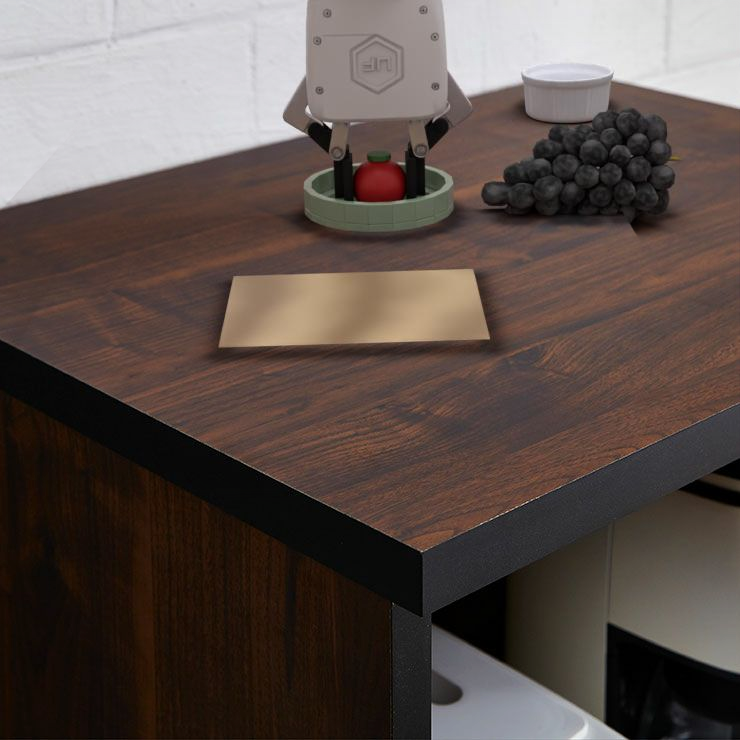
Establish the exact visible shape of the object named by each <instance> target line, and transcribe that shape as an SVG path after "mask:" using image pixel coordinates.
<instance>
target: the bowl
mask: <svg viewBox="0 0 740 740" xmlns="http://www.w3.org/2000/svg"><path fill="white" fill-rule="evenodd" d="M396 162H397V163H398V164H399V165H400V166H401V167H402V168H403V170H404V172H405V162H402V161H401V162H400V161H396ZM361 163H362V162H356V163H353V175H354V173H355V171H356V169H357V168H358V166H359V165H360V164H361ZM454 184H455V183H454V180H453V176H452V175H450V174H448V173H447V172H446V171H444V170H442V169H439V168H436V167H433V166H430V165H426V164H425V195H424V196H417V198H415V199H409V200H406V195H405V197H404V199H403V200H401V201H393V202H370V203H368V202H358V201H357V200H356V198H355V197H354V202H353V201H344V198H337V199H335V187H334V166H333V167H329V168H325V169H322V170H320V171H318V172H315V173H313V174H311V175H310V176H309V177H308V178H306V179H305V180H304V182H303V203H304V204H303V206H304V215H305V216H306V217H307V218H308V219H309V220H310V221H311V222H313V223H316V224H317V225H318V224H319V225H321V226H323V227H326V228H331V229H337V230H341V231H350V232H361V233H383V232H388V233H389V232H397V231H407V230H412V229H418V228H423V227H425V226H429V225H433V224H434V225H435V224H436V223H438V222H441V221H443V220H444V219H447V218H448V217H449V216H450V215H451V214H452V212H453V211H454V205H455V204H454V201H455V200H454V199H455V195H454V193H455V192H454V188H455V187H454Z"/></svg>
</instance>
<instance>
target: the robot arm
mask: <svg viewBox="0 0 740 740" xmlns="http://www.w3.org/2000/svg"><path fill="white" fill-rule="evenodd" d="M306 2H307V3H306V17H305V18H306V20H305V74H304V76H303V77H302V79H301V80H300V82H299V84H298V85H297V87H296V88H295V90H294V92H293V93H292V96H291V97H290V98H289V101H288V102H287V104H286V105H285V106H284V109H283V111H282V120H283V121H284V122H285V123H287V124H288V125H290V126H291V127H293V128H295V129H296V130H298V131H300V132H301V133H304V134H305V135H307V136H308V137H309V138H310V139H311V140H312V141H313V142H315V144H317V145H318V146H319V147H320V148H321V149H322V150H323V151H324V152H325V153H326V154H327V155H328V156H329V158H330V159H331V160H332V161H333V167H334V187H335V199H337V198H344V201H353V202H354V193H353V164H354V163H353V161H354V160H353V152H350V145H349V144H348V139H349V134H350V128H351V127H350V126H351V123H353V124H354V123H356V124H357V123H358V124H359V123H383V122H385V123H386V122H406V123H405V124H406V128H407V131H408V136H409V142H408V143H407V148H406V149H407V150H404V163H405V174H406V184H407V192H406V200H409V199H415V198H417V196H424V195H425V165H426V157H427V156H428V155H429V153H430V151H431V150H432V149H433V148H434V146H435V145H436V144H438V142H439V141H440V140H441V139H443V138H444V136H446V134H447V133H448V132H449V131H450V130H452V129H453V128H455V127H456V126H457V125H459V124H461V123H462V122H464V121H465V120H466V119H468V118H469V117H470V116H472V114H473V112H474V108H473V105H472V103H471V101H470V99H469V98H468V97H467V95H466V94H465V92H464V91H463V90H462V88H461V87H460V85H459V84H458V82H457V81H456V80H455V78H454V76H453V75H452V74H451V72H450V71H449V69H448V54H447V37H446V24H445V23H446V22H445V13H444V5H443V0H307V1H306ZM447 104H448V106H447ZM307 107H308V111H309V112H308V111H307ZM425 120H429V121H428V122H427V123H426V124H424V121H425ZM326 123H331V127H329V125H327V124H326Z"/></svg>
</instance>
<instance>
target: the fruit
mask: <svg viewBox="0 0 740 740" xmlns="http://www.w3.org/2000/svg"><path fill="white" fill-rule="evenodd" d="M667 124H668V123H667V122H666V121H665V120H664V119H663V118H662V117H661V116H660V115H658V114H654V113H652V112H649V113H644V114H642V113H641V112H640V111H638V110H637V108H635V107H626V108H623V109H622V110H620V112H619V111H617V110H616V109H615V108H613V109H607V111H605V112H599V113H598V114H597V115H596V116H595V117H594V119H593V120H592V121H591V126H592V127H591V126H589V125H588V124H583V123H580V124H578V125H577V126H575V127H574V128H569V126H567V124H556V125H554V126H553V127H551V128H550V130H549V131H548V134H547V137H548V138H541V139H539V140H537V141H536V142H535V144H534V145H533V148H532V156H526V157H523V159H521V160H520V162H519V163H518V162H513V163H510V164H508V165H507V166H506V167H505V168H504V169H503V175H502V179H503V181H499V180H493V181H489V182H486V183H484V185H483V186H482V189H481V193H480V196H481V198H482V201H483V204H485V205H487V206H489V207H504V206H506V207H505V209H504V212H505V213H508V214H511V215H523V214H527V213H529V212H532V211H533V209H535V210H536V211H537V213H538V214H540V215H544V216H553V215H555V214H556V213H560V214H572V213H573V212H576V209H577V213H578V214H581V215H586V216H592V215H597V214H598V213H600V214H602V215H607V216H612V215H613V216H615V215H618V214H619V212H622V213H623V215H624V217H625V218H626V220H627V222H628V224H632V222H633V221H634V219H636V218H638V217H639V216H640V215H642V214H643V213H644V212H647V213H648V214H650V215H652V216H658V215H661V214H663V213H665V212H667V211H668V209H669V204H670V200H671V197H670V192H669V191H670V190H669V189H670V188H672V187H673V185H674V184H675V180H676V173H675V170H674V169H673V168H672V167H671V166H669V165H667V163H668V162H683V160H682V159H681V158H680V157H678V156H673V153H672V152H673V151H672V150H673V148H672V146H671V145H670V144H669V142H667V138H668V125H667Z"/></svg>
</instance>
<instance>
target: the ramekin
mask: <svg viewBox="0 0 740 740" xmlns="http://www.w3.org/2000/svg"><path fill="white" fill-rule="evenodd" d="M614 73H615V71H614V69H613V67H611V66H608V65H606V64H602V63H596V62H587V61H586V62H585V61H553V62H543V63H537V64H532V65H529V66H526V67H524V68H523V69H522V70H521V72H520V74H521V80H522V81H523V93H524V94H523V95H524V105H525V106H524V107H525V113H526V115H528V117H530V118H532V119H534V120H537V121H541V122H546V123H556V124H575V123H576V124H577V123H586V122H592V121H593V119H594V117H595V116H596V115H597V114H598V113H599V112H605V111H607V110H609V102H610V94H611V85H612V80H613V78H614Z"/></svg>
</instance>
